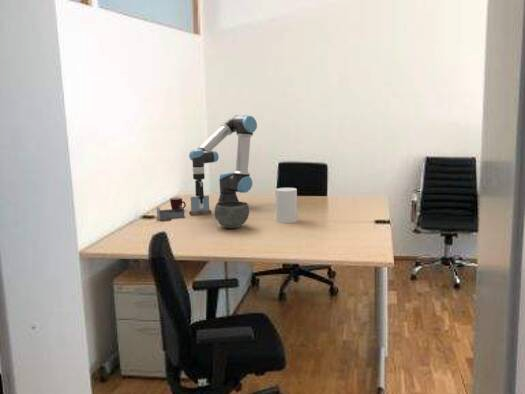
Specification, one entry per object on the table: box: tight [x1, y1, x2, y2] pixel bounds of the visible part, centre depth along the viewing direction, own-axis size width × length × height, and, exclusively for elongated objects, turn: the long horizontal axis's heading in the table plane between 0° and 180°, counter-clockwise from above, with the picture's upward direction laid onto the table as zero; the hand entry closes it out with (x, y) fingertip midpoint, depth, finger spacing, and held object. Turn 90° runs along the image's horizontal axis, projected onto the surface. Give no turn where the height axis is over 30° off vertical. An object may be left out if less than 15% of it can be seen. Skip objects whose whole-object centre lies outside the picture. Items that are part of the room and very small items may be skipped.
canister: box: [274, 187, 298, 224], centre depth 365 cm, size 14×14×20 cm
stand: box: [188, 208, 212, 217], centre depth 389 cm, size 14×7×3 cm, turn 108°
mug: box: [169, 197, 187, 209], centre depth 399 cm, size 10×8×10 cm
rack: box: [156, 205, 185, 222], centre depth 382 cm, size 16×13×7 cm
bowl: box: [214, 201, 250, 229], centre depth 351 cm, size 21×21×15 cm
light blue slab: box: [190, 194, 210, 212], centre depth 388 cm, size 12×2×12 cm, turn 108°
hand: (200, 207), depth 388 cm, fingers open, 8 cm apart
